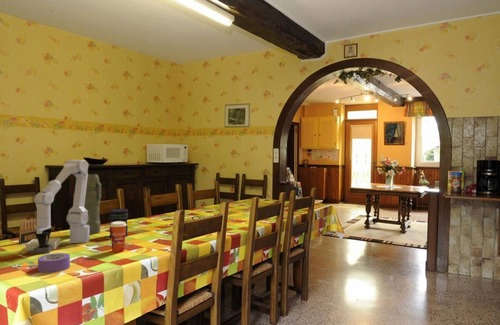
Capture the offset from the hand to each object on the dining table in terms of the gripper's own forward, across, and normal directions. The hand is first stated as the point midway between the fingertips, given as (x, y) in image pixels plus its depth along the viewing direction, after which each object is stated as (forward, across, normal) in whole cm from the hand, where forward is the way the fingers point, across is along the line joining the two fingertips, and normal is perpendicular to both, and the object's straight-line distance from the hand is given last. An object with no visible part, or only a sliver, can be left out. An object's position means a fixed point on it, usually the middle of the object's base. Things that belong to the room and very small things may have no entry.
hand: (43, 245), depth 173 cm
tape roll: (+3, +27, +11) cm, 30 cm away
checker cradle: (+3, 0, -2) cm, 3 cm away
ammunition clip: (+3, -22, -13) cm, 26 cm away
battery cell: (+2, 0, 0) cm, 2 cm away
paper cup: (+3, +6, +34) cm, 35 cm away
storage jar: (+3, -28, +32) cm, 42 cm away
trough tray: (+3, -9, -2) cm, 10 cm away
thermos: (+3, -38, +16) cm, 42 cm away
